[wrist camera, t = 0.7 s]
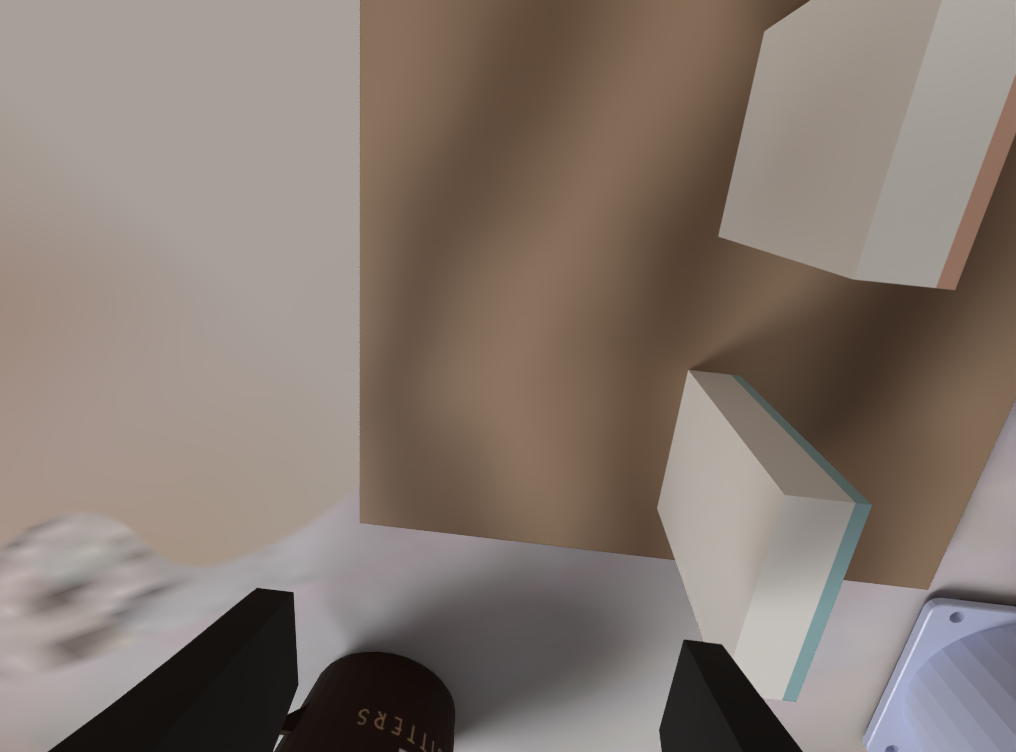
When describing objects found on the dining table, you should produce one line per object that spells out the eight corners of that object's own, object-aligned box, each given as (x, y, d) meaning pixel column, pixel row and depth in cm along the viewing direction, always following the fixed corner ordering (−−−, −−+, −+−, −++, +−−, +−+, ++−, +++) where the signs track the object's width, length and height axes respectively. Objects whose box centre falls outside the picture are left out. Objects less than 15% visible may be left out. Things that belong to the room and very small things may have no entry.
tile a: (740, 375, 16) (871, 505, 10) (704, 513, 18) (796, 701, 12) (688, 369, 17) (784, 495, 10) (657, 508, 18) (722, 692, 12)
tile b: (829, 37, 13) (1105, -101, 7) (775, 242, 15) (955, 290, 9) (764, 31, 13) (977, -113, 7) (718, 236, 15) (853, 279, 9)
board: (1154, -11, 14) (1210, -28, 12) (905, 566, 20) (928, 589, 19) (374, -83, 14) (360, -106, 13) (369, 503, 20) (359, 522, 19)
